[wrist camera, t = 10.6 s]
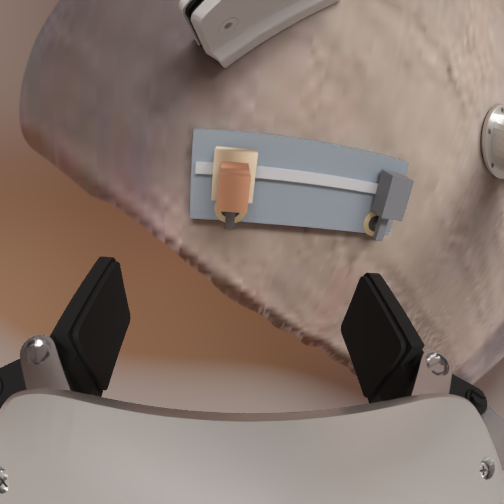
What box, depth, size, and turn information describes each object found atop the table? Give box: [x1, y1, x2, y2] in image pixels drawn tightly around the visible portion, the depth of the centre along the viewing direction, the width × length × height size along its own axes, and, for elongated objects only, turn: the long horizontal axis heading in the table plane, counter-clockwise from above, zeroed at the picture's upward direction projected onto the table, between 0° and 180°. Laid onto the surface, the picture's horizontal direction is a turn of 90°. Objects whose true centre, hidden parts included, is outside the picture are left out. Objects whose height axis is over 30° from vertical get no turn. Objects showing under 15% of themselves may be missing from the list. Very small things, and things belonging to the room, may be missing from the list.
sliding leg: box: [211, 146, 258, 229], centre depth 25 cm, size 4×8×8 cm, turn 174°
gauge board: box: [190, 128, 414, 241], centre depth 29 cm, size 25×10×5 cm, turn 84°
